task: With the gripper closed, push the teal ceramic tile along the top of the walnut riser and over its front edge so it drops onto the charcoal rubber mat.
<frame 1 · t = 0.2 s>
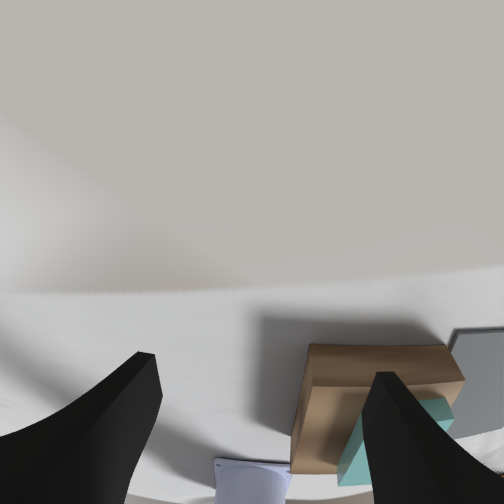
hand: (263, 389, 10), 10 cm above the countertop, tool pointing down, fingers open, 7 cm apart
mat: (486, 390, 22), on the countertop
tile: (388, 436, 19), point 4 cm above the countertop, touching riser
riser: (364, 399, 22), on the countertop
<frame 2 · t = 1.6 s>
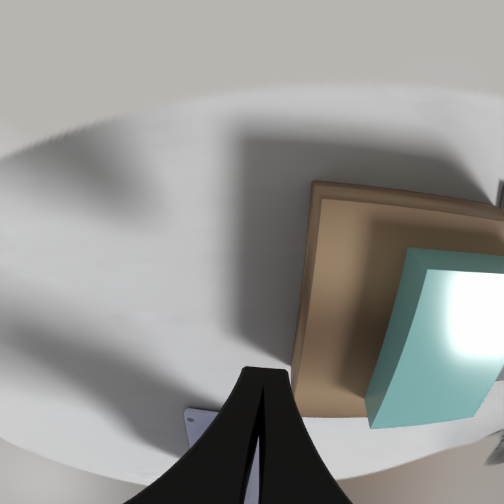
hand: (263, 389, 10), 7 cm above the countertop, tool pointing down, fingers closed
tile: (443, 334, 12), point 4 cm above the countertop, touching riser
riser: (396, 292, 16), on the countertop
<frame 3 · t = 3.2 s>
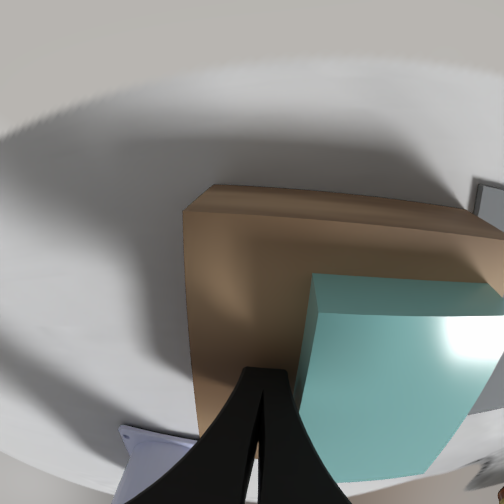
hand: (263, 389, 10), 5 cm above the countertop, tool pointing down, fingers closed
tile: (379, 381, 10), point 4 cm above the countertop, touching gripper
riser: (332, 318, 14), on the countertop
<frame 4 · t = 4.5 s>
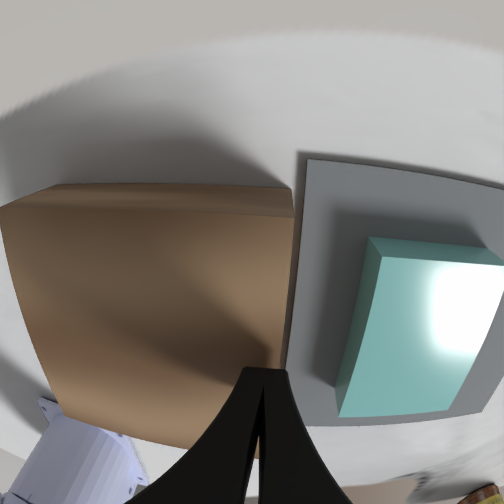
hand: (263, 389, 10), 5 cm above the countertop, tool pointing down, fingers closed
mat: (432, 326, 14), on the countertop
tile: (426, 352, 11), point 2 cm above the countertop, tilted 180°, touching mat
sauce bottle: (474, 494, 22), on the countertop
riser: (164, 303, 14), on the countertop
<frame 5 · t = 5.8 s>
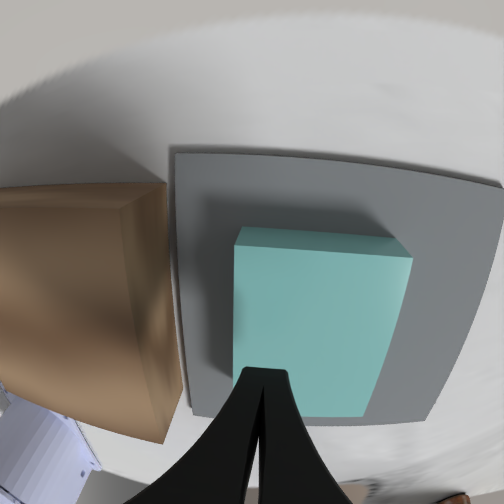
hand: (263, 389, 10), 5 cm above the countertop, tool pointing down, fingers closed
mat: (339, 323, 14), on the countertop
tile: (312, 350, 12), point 2 cm above the countertop, tilted 180°, touching mat
sauce bottle: (444, 503, 22), on the countertop
riser: (79, 291, 15), on the countertop
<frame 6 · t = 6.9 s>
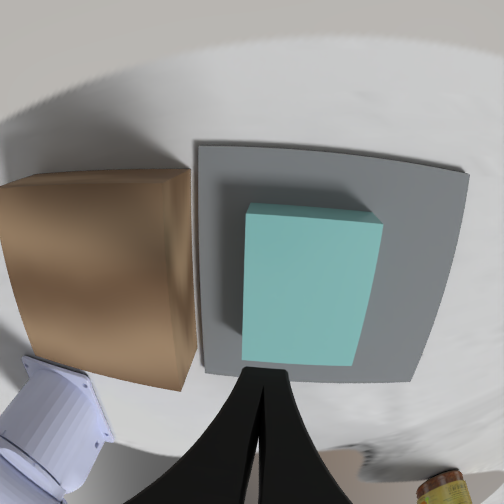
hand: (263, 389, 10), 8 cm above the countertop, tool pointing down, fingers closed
mat: (329, 284, 17), on the countertop
tile: (307, 300, 15), point 2 cm above the countertop, tilted 180°, touching mat
sauce bottle: (438, 480, 26), on the countertop
riser: (110, 261, 18), on the countertop
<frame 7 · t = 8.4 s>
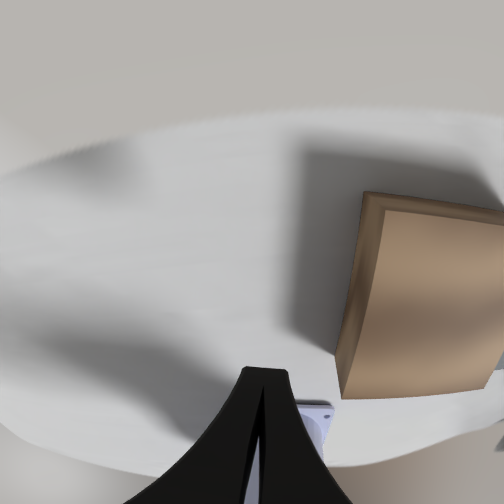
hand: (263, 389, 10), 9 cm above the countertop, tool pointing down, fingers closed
riser: (427, 288, 18), on the countertop
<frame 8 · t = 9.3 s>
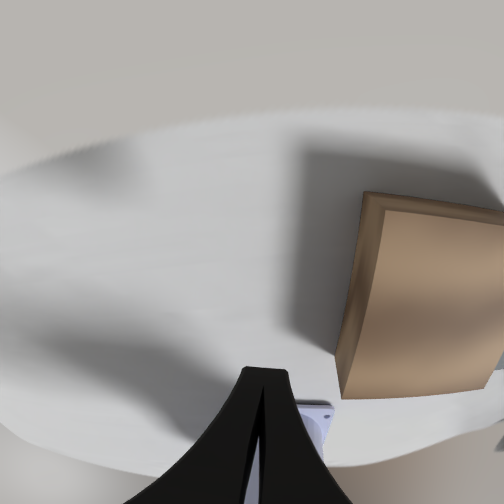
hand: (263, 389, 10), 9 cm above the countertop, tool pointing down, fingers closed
riser: (427, 288, 18), on the countertop
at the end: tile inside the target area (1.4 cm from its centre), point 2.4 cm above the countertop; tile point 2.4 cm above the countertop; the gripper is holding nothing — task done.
